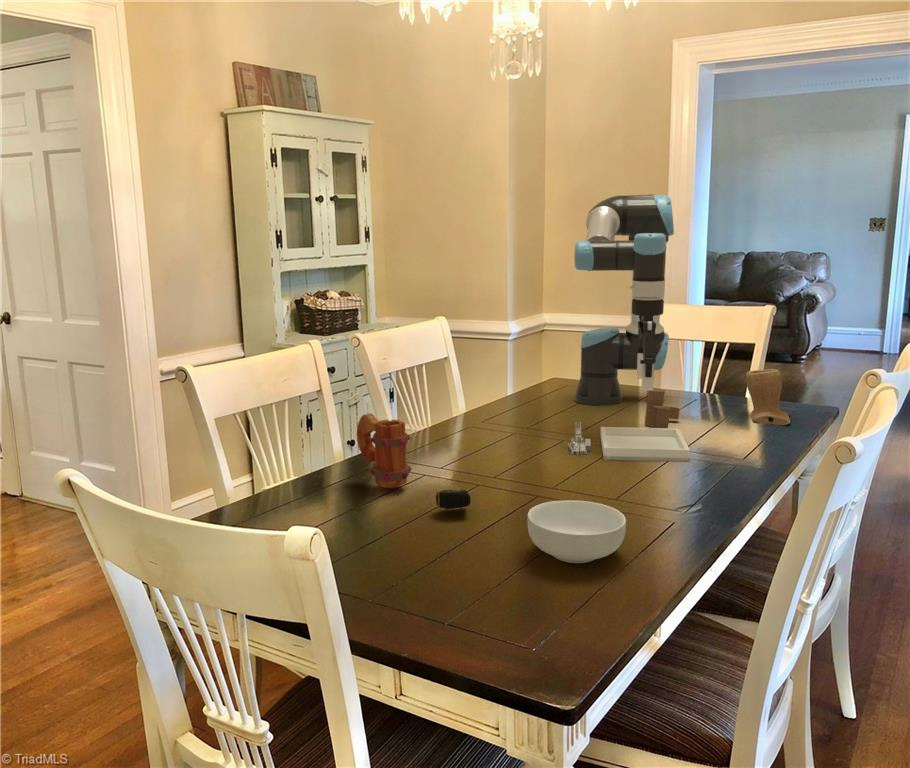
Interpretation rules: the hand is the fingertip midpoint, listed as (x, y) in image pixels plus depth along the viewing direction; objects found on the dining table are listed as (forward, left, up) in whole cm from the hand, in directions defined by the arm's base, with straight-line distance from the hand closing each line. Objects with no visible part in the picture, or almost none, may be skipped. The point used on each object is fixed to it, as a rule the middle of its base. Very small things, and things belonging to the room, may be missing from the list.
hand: (644, 384), depth 194 cm
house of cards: (+3, -14, -17) cm, 22 cm away
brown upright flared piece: (-32, +37, -17) cm, 52 cm away
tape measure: (+49, -38, -16) cm, 64 cm away
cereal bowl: (+66, -17, -17) cm, 70 cm away
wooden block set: (-21, +6, -17) cm, 28 cm away
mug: (+32, -59, -17) cm, 69 cm away
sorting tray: (0, 0, -17) cm, 17 cm away
